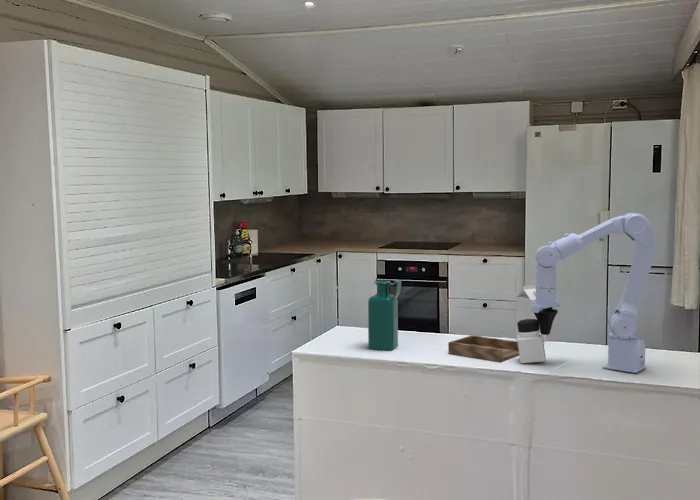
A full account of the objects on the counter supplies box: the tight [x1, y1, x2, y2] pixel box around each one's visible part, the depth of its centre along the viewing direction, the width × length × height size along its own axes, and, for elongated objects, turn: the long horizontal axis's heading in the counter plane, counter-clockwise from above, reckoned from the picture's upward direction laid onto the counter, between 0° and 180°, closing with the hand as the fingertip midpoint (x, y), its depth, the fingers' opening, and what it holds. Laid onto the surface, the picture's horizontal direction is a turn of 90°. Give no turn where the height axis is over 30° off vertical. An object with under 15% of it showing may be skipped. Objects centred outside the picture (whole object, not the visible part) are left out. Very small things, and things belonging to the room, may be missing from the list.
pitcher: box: [367, 279, 402, 352], centre depth 226 cm, size 10×8×22 cm
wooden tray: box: [447, 335, 519, 363], centre depth 217 cm, size 18×14×4 cm
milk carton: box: [515, 284, 548, 342], centre depth 233 cm, size 7×7×19 cm
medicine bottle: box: [517, 319, 547, 364], centre depth 206 cm, size 7×7×12 cm
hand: (545, 334), depth 204 cm, fingers closed
